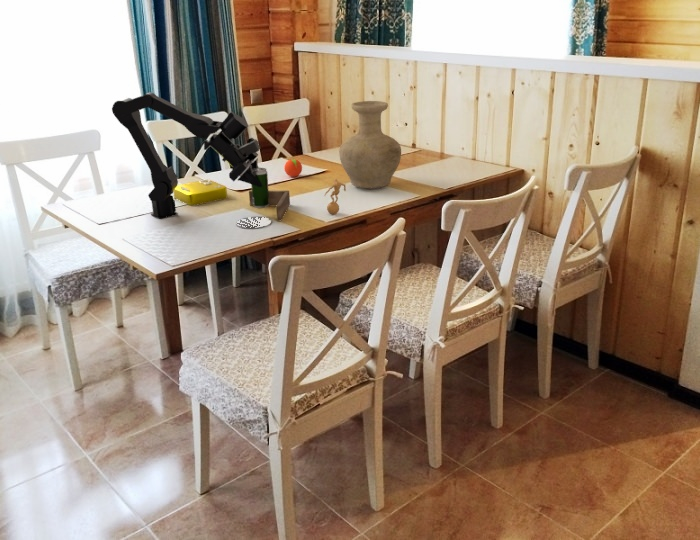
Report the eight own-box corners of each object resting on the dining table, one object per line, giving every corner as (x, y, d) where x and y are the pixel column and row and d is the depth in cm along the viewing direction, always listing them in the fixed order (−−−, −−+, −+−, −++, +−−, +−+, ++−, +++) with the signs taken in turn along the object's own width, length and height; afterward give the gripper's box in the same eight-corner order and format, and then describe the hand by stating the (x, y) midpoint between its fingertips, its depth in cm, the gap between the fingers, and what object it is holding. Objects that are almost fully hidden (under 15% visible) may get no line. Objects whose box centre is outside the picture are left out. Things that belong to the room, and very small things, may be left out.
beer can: (257, 209, 220) (254, 172, 215) (249, 205, 224) (247, 169, 219) (272, 206, 222) (270, 170, 218) (264, 202, 227) (262, 166, 222)
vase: (391, 196, 240) (391, 109, 229) (331, 192, 247) (328, 107, 236) (407, 180, 260) (408, 99, 248) (351, 176, 267) (349, 97, 255)
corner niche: (238, 221, 219) (237, 206, 217) (250, 204, 236) (249, 190, 234) (280, 221, 218) (279, 206, 216) (290, 204, 234) (289, 190, 233)
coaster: (250, 231, 210) (250, 230, 210) (229, 223, 217) (229, 222, 217) (278, 222, 217) (278, 221, 217) (257, 215, 224) (257, 214, 224)
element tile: (172, 198, 247) (170, 185, 245) (209, 190, 255) (208, 177, 254) (191, 207, 236) (189, 193, 234) (229, 198, 245) (228, 185, 243)
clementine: (305, 178, 266) (304, 160, 264) (288, 180, 264) (287, 162, 261) (299, 173, 273) (298, 155, 270) (282, 175, 271) (281, 157, 268)
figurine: (339, 209, 228) (338, 174, 223) (351, 214, 223) (350, 178, 219) (319, 215, 223) (317, 179, 218) (330, 219, 219) (329, 182, 214)
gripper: (236, 137, 206) (275, 174, 209) (250, 125, 223) (285, 159, 226) (213, 163, 209) (251, 198, 213) (228, 149, 226) (263, 182, 230)
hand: (263, 183), depth 220 cm, fingers closed on beer can, 5 cm apart
